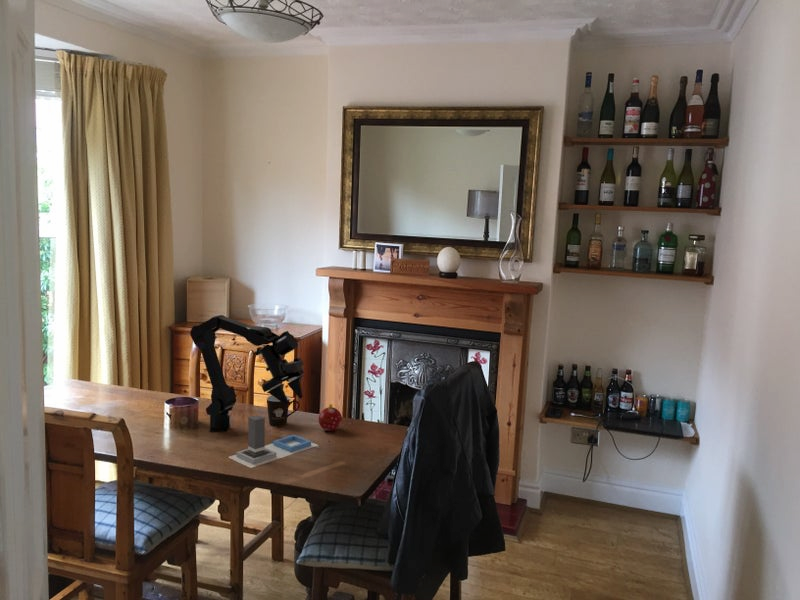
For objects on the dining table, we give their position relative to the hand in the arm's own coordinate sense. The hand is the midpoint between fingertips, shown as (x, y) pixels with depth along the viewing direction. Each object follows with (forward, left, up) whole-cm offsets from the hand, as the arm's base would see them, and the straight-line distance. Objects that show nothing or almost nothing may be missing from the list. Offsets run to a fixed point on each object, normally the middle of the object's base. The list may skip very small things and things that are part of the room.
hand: (294, 401), depth 216 cm
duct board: (-6, -10, -15) cm, 19 cm away
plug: (-11, -15, -14) cm, 23 cm away
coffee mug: (-5, +20, -15) cm, 26 cm away
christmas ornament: (+13, +13, -15) cm, 24 cm away
